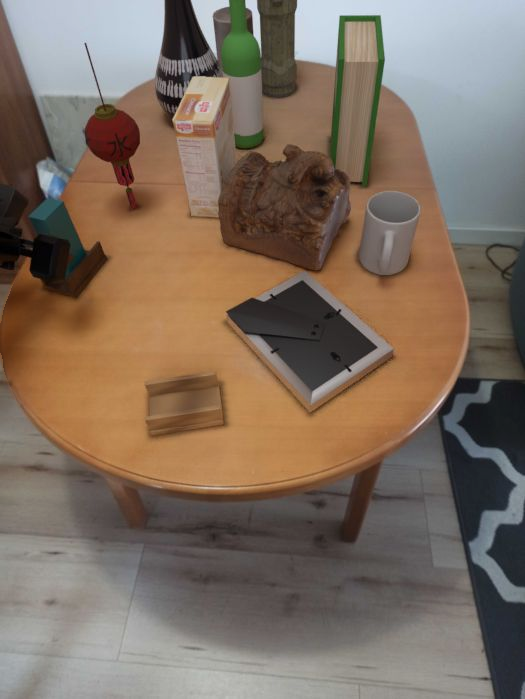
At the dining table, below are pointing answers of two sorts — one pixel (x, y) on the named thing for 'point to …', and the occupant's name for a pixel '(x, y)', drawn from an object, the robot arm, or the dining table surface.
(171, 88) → the vase
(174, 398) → the stand
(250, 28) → the pillar candle
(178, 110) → the coffeecake box
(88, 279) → the rack
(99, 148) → the lantern
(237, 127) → the bottle
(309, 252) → the sculpture
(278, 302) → the picture frame
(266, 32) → the thermos
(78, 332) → the dining table surface
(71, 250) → the teal rectangular block
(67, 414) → the dining table surface
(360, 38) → the hardback book
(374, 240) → the mug
